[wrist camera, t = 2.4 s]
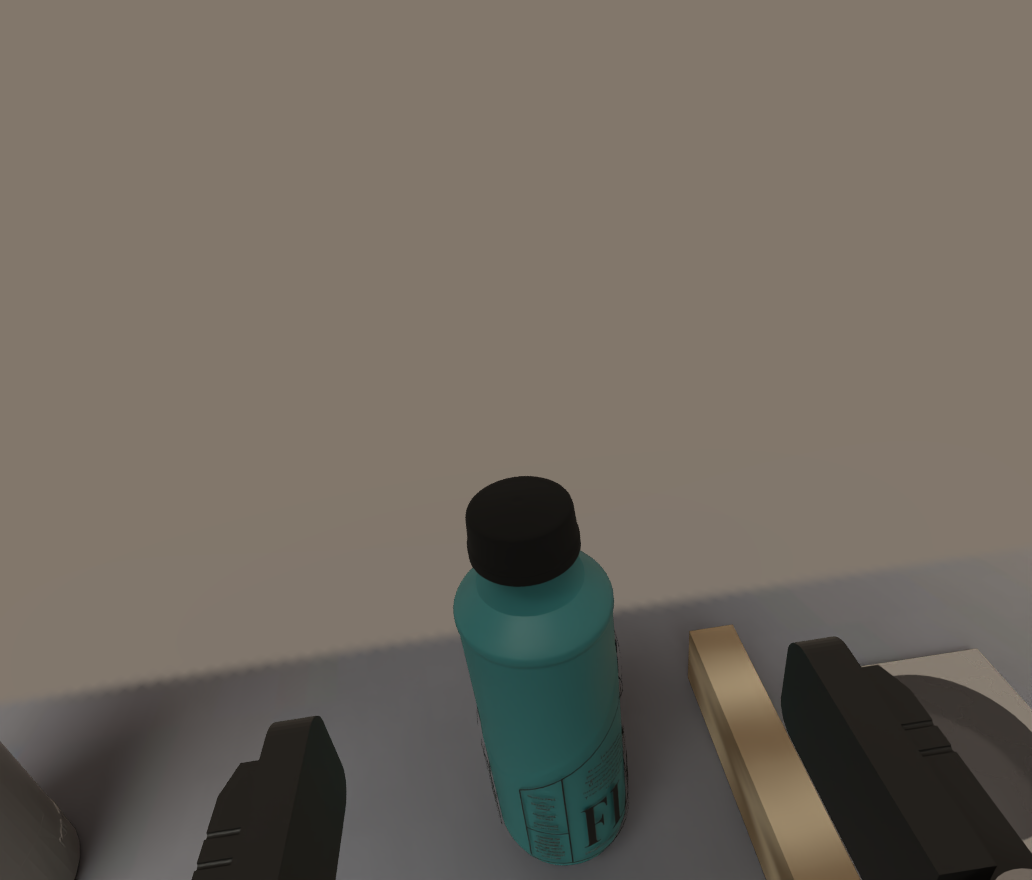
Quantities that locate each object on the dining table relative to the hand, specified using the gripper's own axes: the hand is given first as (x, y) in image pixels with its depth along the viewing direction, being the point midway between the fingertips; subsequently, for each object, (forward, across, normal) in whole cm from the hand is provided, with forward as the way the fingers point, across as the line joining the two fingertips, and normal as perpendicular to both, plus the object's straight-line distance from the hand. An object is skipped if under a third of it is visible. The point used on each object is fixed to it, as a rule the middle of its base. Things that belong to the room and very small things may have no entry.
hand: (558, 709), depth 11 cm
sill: (+11, -10, +24) cm, 28 cm away
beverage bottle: (+11, 0, +24) cm, 26 cm away
